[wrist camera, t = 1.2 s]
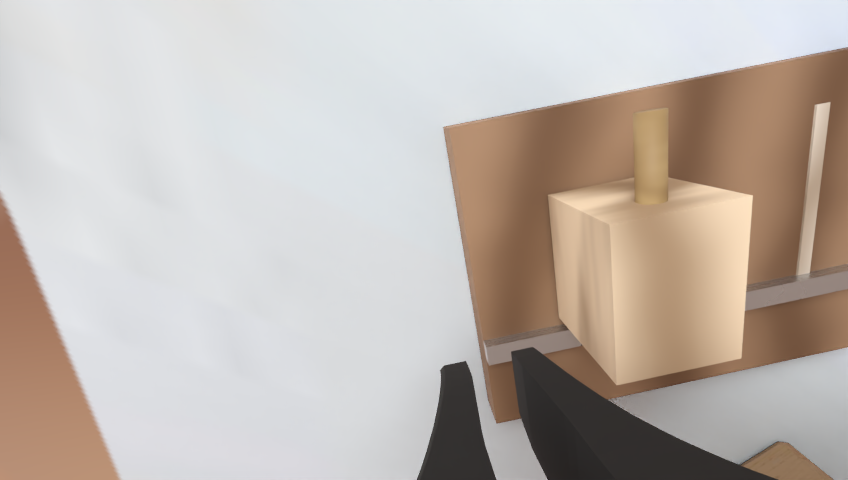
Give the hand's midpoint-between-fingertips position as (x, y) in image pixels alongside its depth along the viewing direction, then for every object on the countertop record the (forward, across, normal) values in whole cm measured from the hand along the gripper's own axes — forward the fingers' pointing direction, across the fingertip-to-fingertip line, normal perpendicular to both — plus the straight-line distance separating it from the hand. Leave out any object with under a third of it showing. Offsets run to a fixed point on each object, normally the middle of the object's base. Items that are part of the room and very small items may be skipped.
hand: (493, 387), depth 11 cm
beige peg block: (+7, -7, -2) cm, 10 cm away
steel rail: (+8, -11, +4) cm, 14 cm away
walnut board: (+9, -11, +1) cm, 15 cm away
